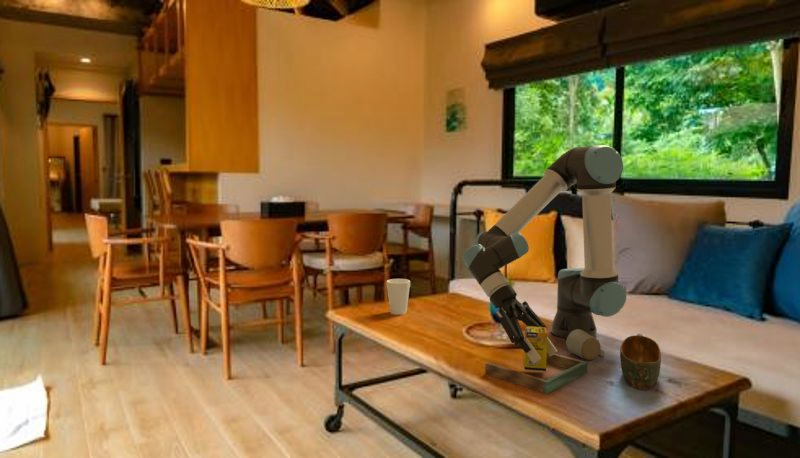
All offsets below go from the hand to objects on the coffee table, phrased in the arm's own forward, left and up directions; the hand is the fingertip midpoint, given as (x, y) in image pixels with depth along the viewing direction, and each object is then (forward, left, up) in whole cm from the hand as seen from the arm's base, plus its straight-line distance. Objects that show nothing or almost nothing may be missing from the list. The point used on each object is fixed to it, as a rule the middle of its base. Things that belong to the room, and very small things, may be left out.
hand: (545, 357), depth 152 cm
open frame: (+2, -3, -5) cm, 7 cm away
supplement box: (+2, -2, -4) cm, 5 cm away
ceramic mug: (-17, -17, -6) cm, 25 cm away
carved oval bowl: (-26, +2, -6) cm, 26 cm away
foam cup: (+42, -69, -6) cm, 81 cm away
